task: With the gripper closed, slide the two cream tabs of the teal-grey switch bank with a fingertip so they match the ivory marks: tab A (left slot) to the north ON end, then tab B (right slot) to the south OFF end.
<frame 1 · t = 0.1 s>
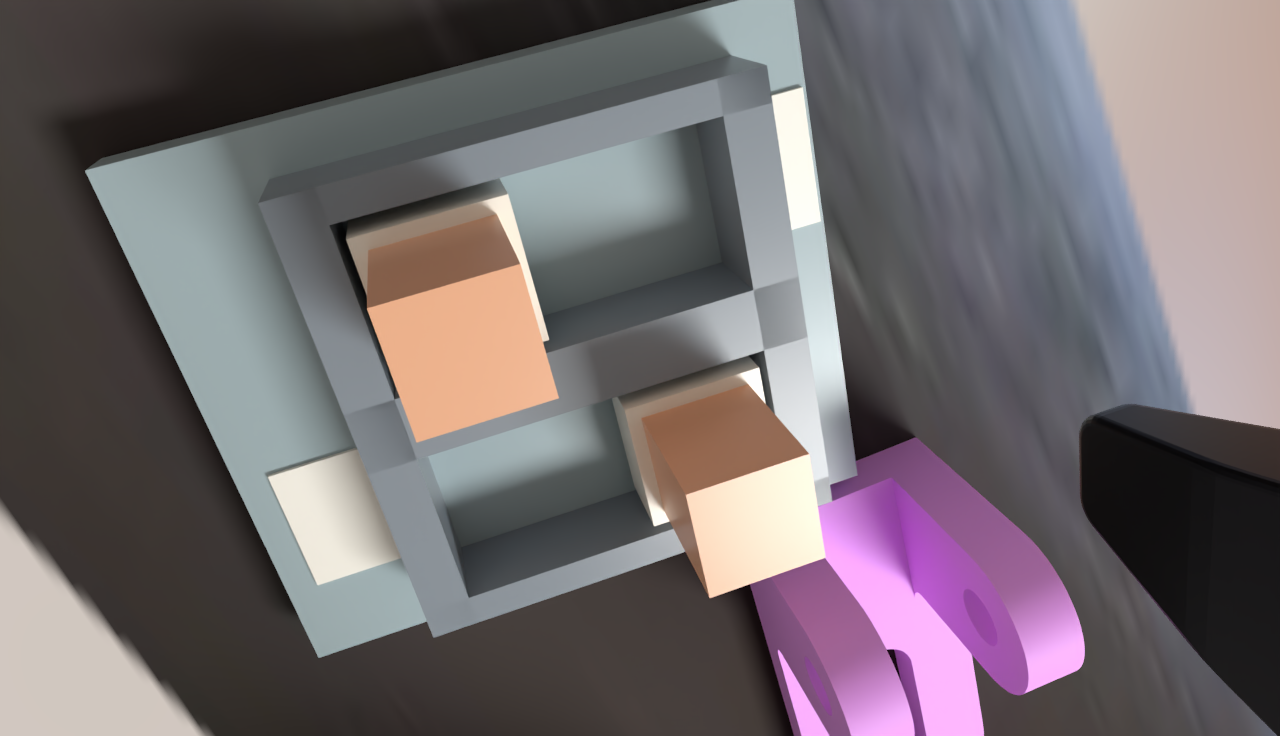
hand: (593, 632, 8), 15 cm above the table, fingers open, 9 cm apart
switch plate: (528, 329, 22), on the table
tab a: (715, 464, 20), point 4 cm above the table, slide at 0.0 cm
bracket: (858, 640, 29), on the table
tab b: (455, 304, 17), point 4 cm above the table, slide at 4.1 cm
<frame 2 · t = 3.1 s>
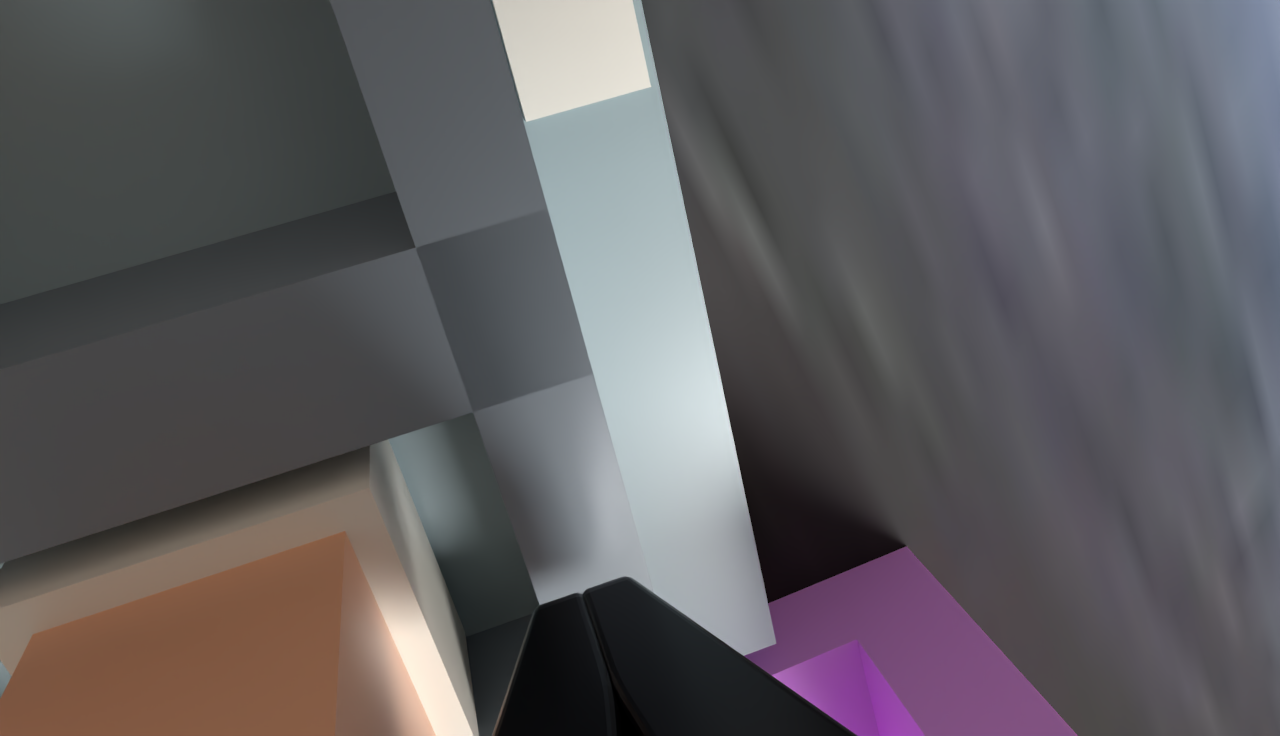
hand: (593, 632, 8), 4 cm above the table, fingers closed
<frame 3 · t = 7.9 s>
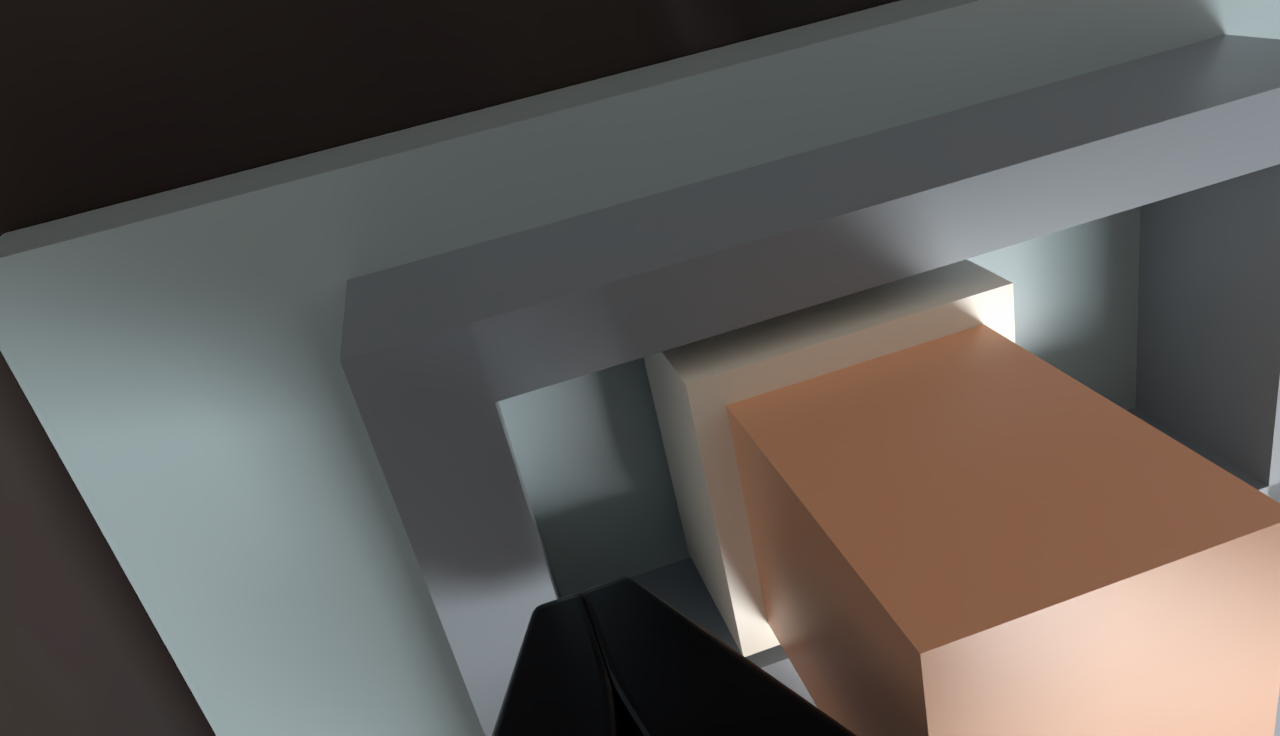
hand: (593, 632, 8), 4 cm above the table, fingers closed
switch plate: (774, 514, 13), on the table
tab b: (909, 520, 8), point 4 cm above the table, slide at 2.8 cm, touching gripper
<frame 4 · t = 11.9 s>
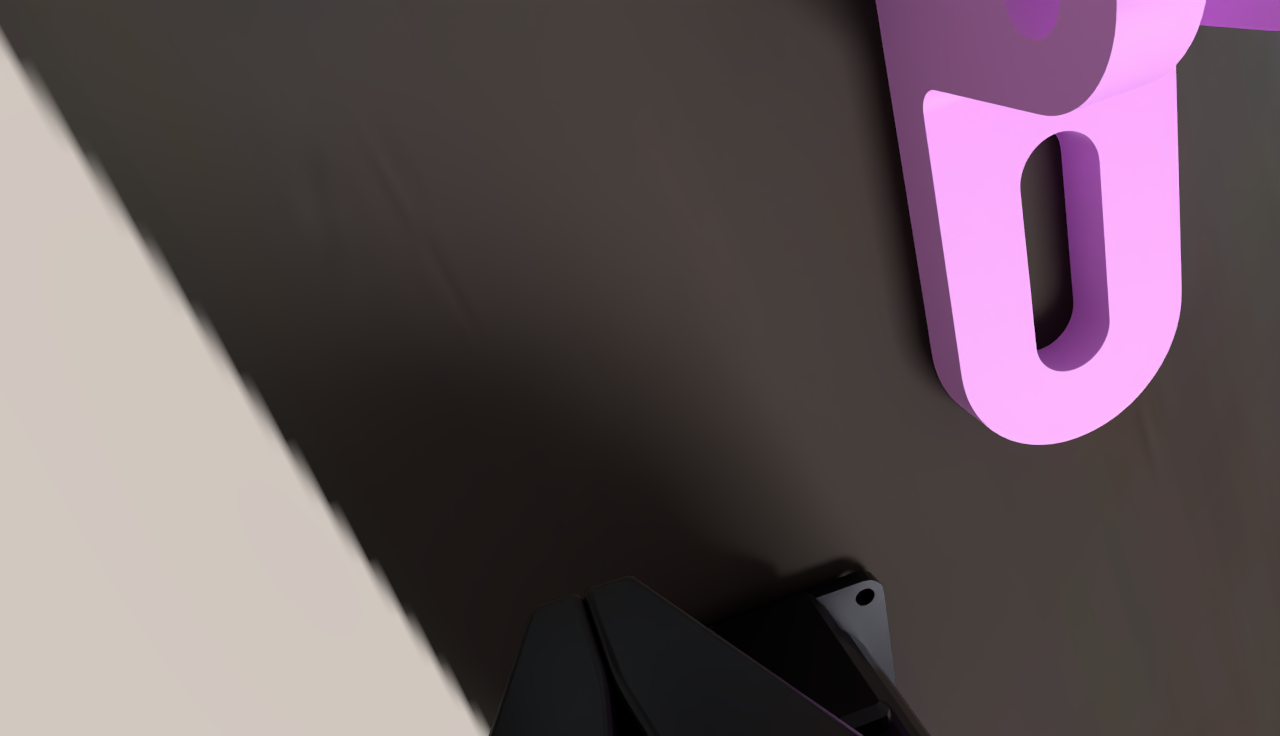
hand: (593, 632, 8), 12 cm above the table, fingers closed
bracket: (1014, 161, 21), on the table
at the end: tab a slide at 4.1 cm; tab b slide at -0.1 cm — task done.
